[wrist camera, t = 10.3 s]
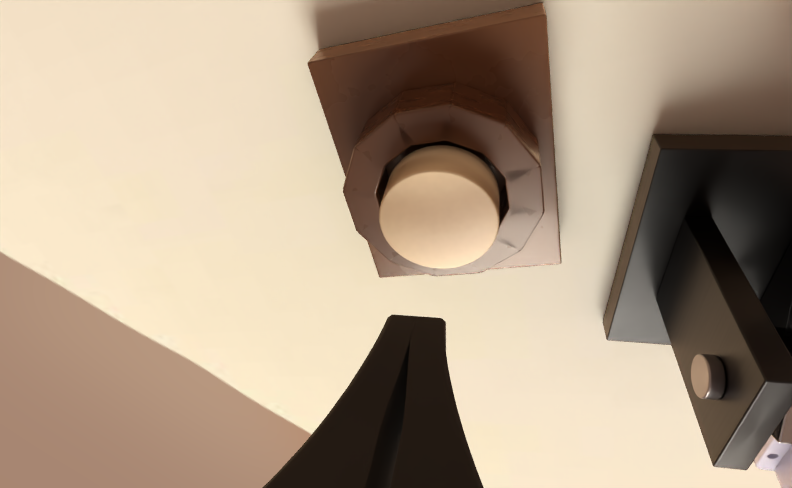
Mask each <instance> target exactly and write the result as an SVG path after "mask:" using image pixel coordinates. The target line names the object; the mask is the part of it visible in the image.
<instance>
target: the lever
mask: <svg viewBox="0 0 792 488" xmlns="http://www.w3.org/2000/svg"><path fill="white" fill-rule="evenodd" d="M775 329H776V330H777V332H778V334H779V336H780V337H781V339H782V341H783V343H784V344H785V346H786V348H787V350H788V351H789V353H790V355H791V357H792V303H791V307H790V312H789V317H788V322H787V327H786V328H783V327H775ZM772 437H773V438H774V439H775V440H776V441H777V442H779V443H784V444H792V406H791V408H790V409H789V410H788V412H787V413H786V415H785V416H784V418H783V419H782V420H781V422H780V423H779V425H778V426H777V428H776V429H775V431H774V432H773V433H772Z"/></svg>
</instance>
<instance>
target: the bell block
mask: <svg viewBox="0 0 792 488" xmlns="http://www.w3.org/2000/svg"><path fill="white" fill-rule="evenodd" d="M308 66H309V69H310V72H311V75H312V78H313V81H314V84H315V87H316V90H317V93H318V96H319V99H320V102H321V105H322V108H323V111H324V114H325V117H326V120H327V123H328V126H329V129H330V132H331V135H332V138H333V141H334V144H335V146H336V149H337V152H338V155H339V158H340V161H341V164H342V167H343V170H344V173H345V176H346V179H345V183H344V187H343V193H344V196H345V199H346V202H347V205H348V207H349V210H350V213H351V216H352V219H353V222H354V225H355V228H356V230H357V231H358V233H359V234H360V235H362V236H363V237H364V238H365V239H366V240H367V241H368V244H369V247H370V250H371V253H372V256H373V259H374V262H375V265H376V268H377V271H378V274H379V277H380V278H382V277H395V276H408V275H421V274H429V275H432V276H434V275H435V276H444V275H457V274H471V273H480V272H483V271H485V270H487V269H499V268H512V267H525V266H538V265H551V264H561V249H560V232H559V216H558V199H557V183H556V166H555V149H554V133H553V116H552V100H551V83H550V67H549V50H548V34H547V17H546V12H545V9H544V5H543V3H538V4H533V5H529V6H524V7H519V8H514V9H510V10H505V11H500V12H495V13H491V14H486V15H481V16H476V17H471V18H467V19H462V20H457V21H452V22H448V23H443V24H438V25H433V26H429V27H424V28H419V29H414V30H409V31H405V32H400V33H395V34H390V35H386V36H381V37H376V38H371V39H367V40H362V41H357V42H352V43H347V44H343V45H338V46H333V47H328V48H324V49H319V50H318V51H317V53H316V54H315V55H314V56H313V57H312V58H311V59H310V61H309V62H308ZM436 145H447V146H454V147H458V148H461V149H464V150H467V151H469V152H471V153H473V154H474V155H476V156H477V157H479V158H480V159H481V160H483V161H484V162H485V163H486V164H487V165H488V167H489V168H490V169H491V170H492V172H493V174H494V176H495V178H496V180H497V183H498V187H499V230H498V234H497V237H496V239H495V241H494V243H493V244H492V246H491V247H490V248H489V249H488V251H487V252H486V253H485V254H483V255H482V256H481V257H480V258H478V259H477V260H475V261H473V262H471V263H469V264H466V265H463V266H460V267H456V268H447V269H439V268H430V267H425V266H421V265H418V264H416V263H413V262H411V261H409V260H407V259H406V258H404V257H402V256H401V255H400V254H398V253H397V252H396V251H395V250H394V249H393V248H392V247H391V246H390V245H389V243H388V242H387V241H386V239H385V237H384V235H383V233H382V230H381V227H380V223H379V209H380V205H381V201H382V198H383V195H384V192H385V189H386V186H387V183H388V180H389V177H390V175H391V172H392V171H393V169H394V168H395V166H396V165H397V164H398V163H399V161H401V160H402V159H403V158H404V157H405V156H407V155H408V154H410V153H412V152H414V151H416V150H418V149H421V148H424V147H428V146H436Z"/></svg>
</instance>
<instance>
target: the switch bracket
mask: <svg viewBox="0 0 792 488" xmlns="http://www.w3.org/2000/svg"><path fill="white" fill-rule="evenodd" d="M791 303H792V136H762V135H672V134H654V135H653V137H652V141H651V144H650V148H649V152H648V155H647V159H646V163H645V167H644V170H643V174H642V178H641V182H640V185H639V189H638V193H637V197H636V200H635V204H634V208H633V211H632V215H631V219H630V223H629V226H628V230H627V234H626V238H625V241H624V245H623V249H622V253H621V256H620V260H619V264H618V267H617V271H616V275H615V279H614V282H613V286H612V290H611V294H610V297H609V301H608V305H607V309H606V312H605V316H604V320H603V325H604V330H605V334H606V339H607V340H612V341H625V342H639V343H653V344H666V345H672V348H673V351H674V354H675V357H676V359H677V362H678V365H679V368H680V371H681V374H682V377H683V380H684V383H685V386H686V388H687V391H688V394H689V397H690V400H691V403H692V406H693V409H694V412H695V415H696V418H697V420H698V423H699V426H700V429H701V432H702V435H703V438H704V441H705V444H706V447H707V449H708V452H709V455H710V458H711V461H712V464H713V466H714V467H721V468H731V469H740V470H747V469H748V468H749V466H750V465H751V464H752V462H753V461H754V459H755V458H756V456H757V455H758V454H759V452H760V451H761V449H762V448H763V446H764V445H765V443H766V442H767V441H768V439H769V438H770V436H771V435H772V433H773V432H774V431H775V429H776V428H777V426H778V425H779V423H780V422H781V420H782V419H783V418H784V416H785V415H786V413H787V412H788V410H789V409H790V408H791V406H792V357H791V355H790V353H789V351H788V350H787V348H786V346H785V344H784V343H783V341H782V339H781V337H780V336H779V334H778V332H777V330H776V329H775V327H783V328H786V327H787V322H788V317H789V312H790V307H791Z"/></svg>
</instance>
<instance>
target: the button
mask: <svg viewBox="0 0 792 488" xmlns="http://www.w3.org/2000/svg"><path fill="white" fill-rule="evenodd" d="M379 223H380V227H381V230H382V233H383V235H384V237H385V239H386V241H387V242H388V243H389V245H390V246H391V247H392V248H393V249H394V250H395V251H396V252H397V253H398V254H400V255H401V256H402V257H404V258H406V259H407V260H409V261H411V262H413V263H416V264H418V265H421V266H425V267H430V268H439V269H447V268H456V267H460V266H463V265H466V264H469V263H471V262H473V261H475V260H477V259H478V258H480V257H481V256H482V255H483V254H485V253H486V252H487V251H488V249H489V248H490V247H491V246H492V244H493V243H494V241H495V239H496V237H497V234H498V230H499V187H498V183H497V180H496V178H495V176H494V174H493V172H492V170H491V169H490V168H489V167H488V165H487V164H486V163H485V162H484V161H483V160H481V159H480V158H479V157H477V156H476V155H474V154H473V153H471V152H469V151H467V150H464V149H461V148H458V147H454V146H447V145H436V146H428V147H424V148H421V149H418V150H416V151H414V152H412V153H410V154H408V155H407V156H405V157H404V158H403V159H402V160H401V161H399V163H398V164H397V165H396V166H395V168H394V169H393V171H392V172H391V175H390V177H389V180H388V183H387V186H386V189H385V192H384V195H383V198H382V201H381V205H380V209H379Z"/></svg>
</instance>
